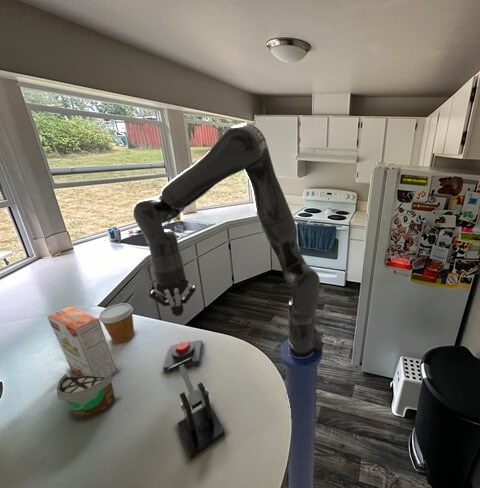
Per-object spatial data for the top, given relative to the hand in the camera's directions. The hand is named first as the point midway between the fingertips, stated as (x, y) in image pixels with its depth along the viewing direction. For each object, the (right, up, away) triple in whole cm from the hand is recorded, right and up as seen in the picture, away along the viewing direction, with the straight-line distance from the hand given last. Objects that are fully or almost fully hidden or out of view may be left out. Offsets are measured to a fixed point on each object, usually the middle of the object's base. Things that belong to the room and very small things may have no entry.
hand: (178, 314), depth 80 cm
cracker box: (-26, -18, -1) cm, 32 cm away
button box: (-1, -16, +5) cm, 17 cm away
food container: (-17, -23, -13) cm, 31 cm away
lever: (+12, -13, -17) cm, 25 cm away
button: (-1, -13, +4) cm, 14 cm away
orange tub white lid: (-28, -12, +13) cm, 34 cm away
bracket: (+15, -25, -16) cm, 33 cm away
